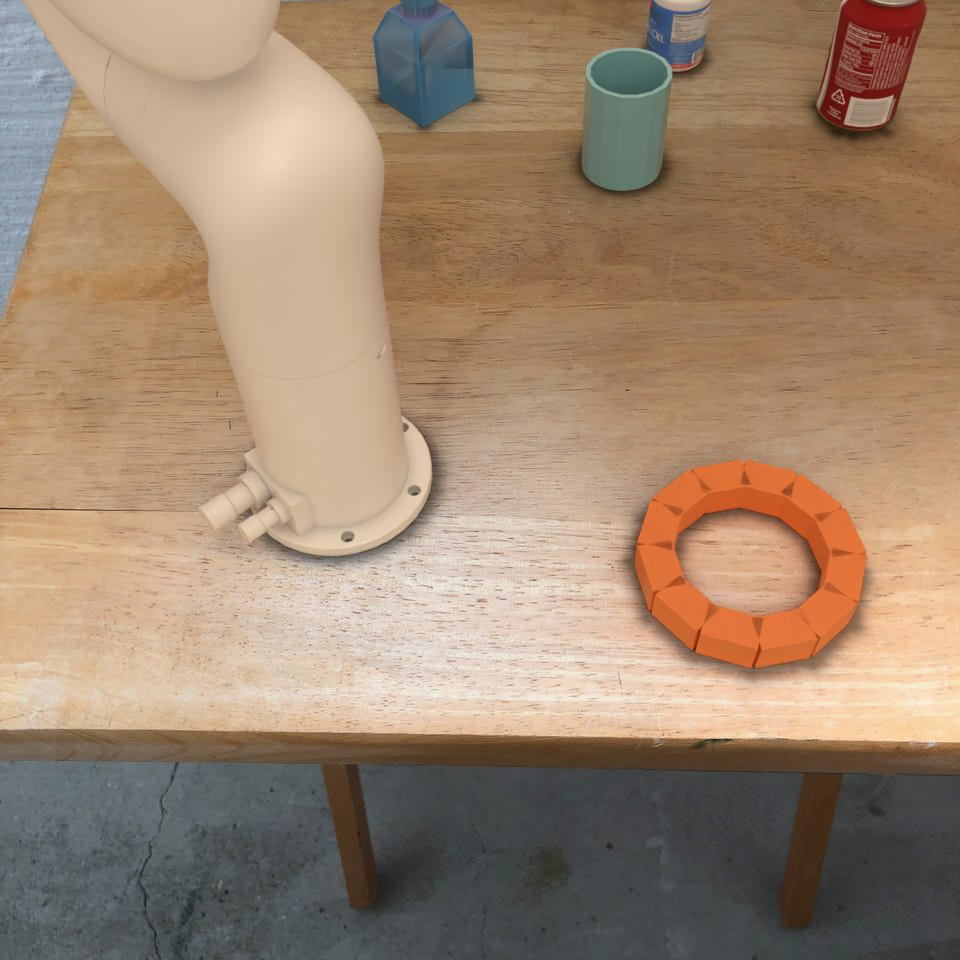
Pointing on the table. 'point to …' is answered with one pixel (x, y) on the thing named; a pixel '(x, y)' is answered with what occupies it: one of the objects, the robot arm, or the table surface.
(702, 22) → the pill bottle
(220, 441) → the table surface
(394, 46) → the perfume bottle
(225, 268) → the robot arm
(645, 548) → the ring
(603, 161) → the cup
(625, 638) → the table surface
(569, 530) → the table surface
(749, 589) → the table surface
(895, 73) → the soda can
